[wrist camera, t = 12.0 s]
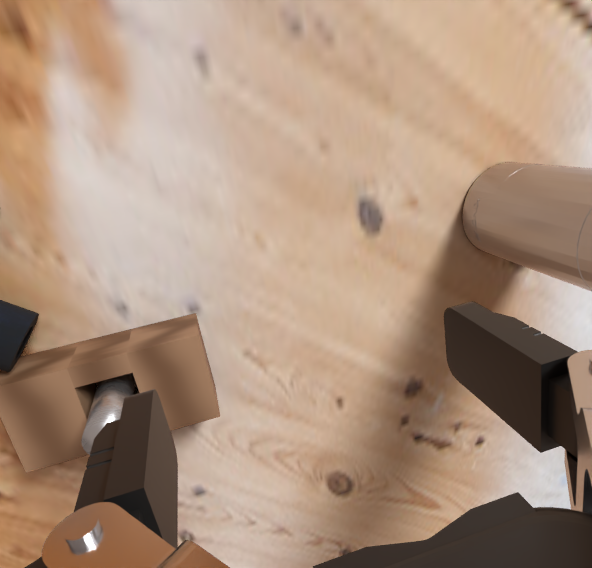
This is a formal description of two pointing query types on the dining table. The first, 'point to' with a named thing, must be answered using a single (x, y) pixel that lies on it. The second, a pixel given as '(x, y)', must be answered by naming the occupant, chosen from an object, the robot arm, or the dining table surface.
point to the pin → (106, 406)
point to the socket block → (97, 367)
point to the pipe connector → (14, 333)
